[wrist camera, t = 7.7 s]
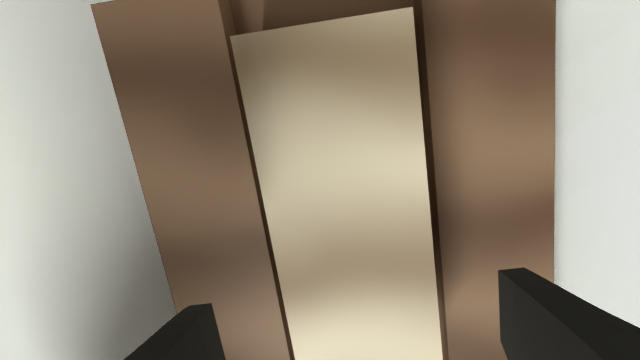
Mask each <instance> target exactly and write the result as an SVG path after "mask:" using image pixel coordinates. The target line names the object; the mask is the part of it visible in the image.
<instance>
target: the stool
mask: <svg viewBox="0 0 640 360" xmlns="http://www.w3.org/2000/svg"><path fill="white" fill-rule="evenodd" d="M230 39H231V44H232V49H233V54H234V59H235V64H236V69H237V74H238V79H239V84H240V89H241V94H242V99H243V104H244V108H245V113H246V118H247V123H248V128H249V133H250V138H251V143H252V148H253V153H254V158H255V163H256V168H257V173H258V178H259V183H260V188H261V193H262V198H263V203H264V208H265V213H266V218H267V223H268V228H269V233H270V237H271V242H272V247H273V252H274V257H275V262H276V267H277V272H278V277H279V282H280V287H281V292H282V297H283V302H284V307H285V312H286V317H287V322H288V327H289V332H290V337H291V342H292V347H293V352H294V357H295V360H443V357H442V345H441V333H440V321H439V309H438V298H437V286H436V274H435V262H434V250H433V239H432V227H431V215H430V203H429V192H428V180H427V168H426V156H425V144H424V133H423V121H422V109H421V97H420V85H419V74H418V62H417V50H416V38H415V27H414V15H413V7H408V8H402V9H396V10H390V11H383V12H377V13H371V14H365V15H359V16H352V17H346V18H340V19H334V20H327V21H321V22H315V23H309V24H302V25H296V26H290V27H284V28H278V29H271V30H265V31H259V32H253V33H246V34H240V35H234V36H230Z"/></svg>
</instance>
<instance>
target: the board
mask: <svg viewBox="0 0 640 360" xmlns="http://www.w3.org/2000/svg"><path fill="white" fill-rule="evenodd" d="M408 7H413V15H414V27H415V38H416V50H417V62H418V74H419V85H420V97H421V109H422V121H423V133H424V144H425V156H426V168H427V180H428V192H429V203H430V215H431V227H432V239H433V250H434V262H435V274H436V286H437V298H438V309H439V321H440V333H441V345H442V357H443V360H508V359H507V356H506V354H505V351H504V349H503V346H502V344H501V341H500V315H499V286H498V270H504V269H513V268H522V267H524V268H526V269H528V270H530V271H532V272H534V273H536V274H538V275H540V276H541V277H543V278H545V279H547V280H548V281H550V282H552V283H554V163H555V17H556V0H115V1H109V2H103V3H97V4H91V8H92V12H93V15H94V19H95V22H96V26H97V30H98V33H99V37H100V40H101V44H102V47H103V51H104V54H105V58H106V62H107V65H108V69H109V72H110V76H111V79H112V83H113V87H114V90H115V94H116V97H117V101H118V104H119V108H120V112H121V115H122V119H123V122H124V126H125V129H126V133H127V137H128V140H129V144H130V147H131V151H132V154H133V158H134V162H135V165H136V169H137V172H138V176H139V179H140V183H141V186H142V190H143V194H144V197H145V201H146V204H147V208H148V211H149V215H150V219H151V222H152V226H153V229H154V233H155V236H156V240H157V244H158V247H159V251H160V254H161V258H162V261H163V265H164V269H165V272H166V276H167V279H168V283H169V286H170V290H171V294H172V297H173V301H174V304H175V308H176V311H177V314H178V313H179V312H181V311H182V310H183V309H185V308H186V307H187V306H190V305H199V304H207V303H212V307H213V311H214V315H215V319H216V323H217V327H218V331H219V335H220V339H221V343H222V347H223V351H224V355H225V358H226V360H295V357H294V352H293V347H292V342H291V337H290V332H289V327H288V322H287V317H286V312H285V307H284V302H283V297H282V292H281V287H280V282H279V277H278V272H277V267H276V262H275V257H274V252H273V247H272V242H271V237H270V233H269V228H268V223H267V218H266V213H265V208H264V203H263V198H262V193H261V188H260V183H259V178H258V173H257V168H256V163H255V158H254V153H253V148H252V143H251V138H250V133H249V128H248V123H247V118H246V113H245V108H244V104H243V99H242V94H241V89H240V84H239V79H238V74H237V69H236V64H235V59H234V54H233V49H232V44H231V39H230V36H234V35H240V34H246V33H253V32H259V31H265V30H271V29H278V28H284V27H290V26H296V25H302V24H309V23H315V22H321V21H327V20H334V19H340V18H346V17H352V16H359V15H365V14H371V13H377V12H383V11H390V10H396V9H402V8H408Z"/></svg>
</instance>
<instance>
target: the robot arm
mask: <svg viewBox="0 0 640 360" xmlns="http://www.w3.org/2000/svg"><path fill="white" fill-rule="evenodd" d="M498 286H499V315H500V341H501V344H502V346H503V349H504V351H505V354H506V356H507V359H508V360H640V328H639V327H637V326H634V325H632V324H630V323H628V322H626V321H624V320H622V319H620V318H618V317H616V316H613V315H611V314H609V313H607V312H605V311H604V310H602V309H600V308H598V307H596V306H594V305H592V304H590V303H588V302H586V301H584V300H583V299H581V298H579V297H577V296H575V295H573V294H572V293H570V292H568V291H566V290H564V289H563V288H561V287H559V286H557V285H556V284H554V283H552V282H550V281H548V280H547V279H545V278H543V277H541V276H540V275H538V274H536V273H534V272H532V271H530V270H528V269H526V268H524V267H522V268H513V269H504V270H498ZM124 360H226V358H225V355H224V351H223V347H222V343H221V339H220V335H219V331H218V327H217V323H216V319H215V315H214V311H213V307H212V303H207V304H199V305H190V306H187V307H186V308H185V309H183V310H182V311H181V312H179V313H178V314H177V315H176V316H175V317H173V318H172V319H171V320H170V321H169V322H167V323H166V324H165V325H164V326H163V327H162V328H161V329H159V330H158V331H157V332H156V333H155V334H154V335H152V336H151V337H150V338H149V339H148V340H147V341H145V342H144V343H143V344H142V345H141V346H140V347H138V348H137V349H136V350H135V351H134V352H133V353H131V354H130V355H129V356H128V357H126V358H125V359H124Z"/></svg>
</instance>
